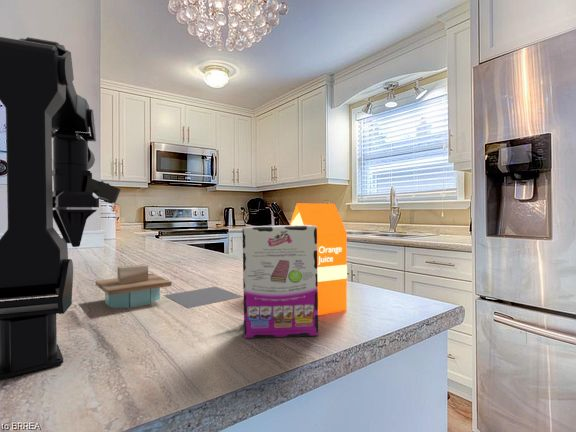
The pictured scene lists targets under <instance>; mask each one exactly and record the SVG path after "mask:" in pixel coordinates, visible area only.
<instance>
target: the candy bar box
mask: <svg viewBox="0 0 576 432" xmlns="http://www.w3.org/2000/svg"><path fill="white" fill-rule="evenodd" d="M242 270H243V271H242V274H243V278H242V281H243V282H242V283H243V284H242V286H243V288H242V289H243V337H244V339H263V338H265V339H267V338H271V339H272V338H292V337H293V338H295V337H311V336H312V337H315V336H319V315H318V268H317V226H314V225H290V224H289V225H288V224H287V225H284V224H283V225H251V226H250V225H249V226H248V225H247V226H244V227H243V228H242Z"/></svg>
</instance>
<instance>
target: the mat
mask: <svg viewBox="0 0 576 432" xmlns="http://www.w3.org/2000/svg"><path fill="white" fill-rule="evenodd" d="M163 296H164V297H165V298H168V299H170V300H171V301H173V302H175V303H177V304H179V305H181V306H183V307H185V308H186V309H191V308H195V307H197V308H198V307H202V306H206V305H210V304H216V303H221V302H226V301H230V300H235V299H241V298H244V295H240V294H238V293H234V292H232V291H229V290H226V289H223V288H220V287H218V286H211V287H204V288H200V289H193V290H187V291H182V292H181V291H180V292H176V293H175V292H174V293H170V294H164V295H163Z"/></svg>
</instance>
